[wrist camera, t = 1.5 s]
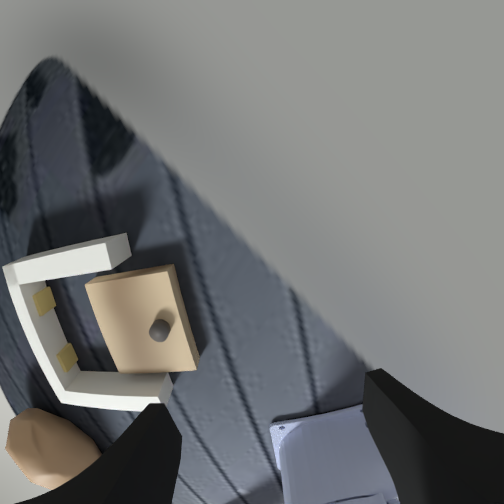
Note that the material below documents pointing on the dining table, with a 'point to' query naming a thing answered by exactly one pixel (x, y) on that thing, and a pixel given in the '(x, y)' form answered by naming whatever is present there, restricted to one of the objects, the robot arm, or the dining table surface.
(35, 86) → the dining table surface
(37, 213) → the dining table surface
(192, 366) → the door panel
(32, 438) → the squash
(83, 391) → the cabinet frame
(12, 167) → the dining table surface
